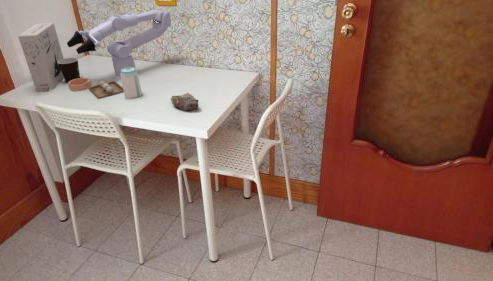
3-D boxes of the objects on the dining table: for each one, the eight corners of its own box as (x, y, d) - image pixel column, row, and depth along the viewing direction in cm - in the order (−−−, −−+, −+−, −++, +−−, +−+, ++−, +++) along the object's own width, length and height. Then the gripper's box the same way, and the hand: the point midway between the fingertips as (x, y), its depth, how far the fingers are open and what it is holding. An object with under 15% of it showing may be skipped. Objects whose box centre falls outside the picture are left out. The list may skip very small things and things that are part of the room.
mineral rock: (168, 102, 156) (166, 92, 154) (186, 97, 159) (185, 88, 157) (182, 116, 145) (181, 105, 143) (201, 110, 149) (200, 100, 146)
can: (121, 97, 162) (115, 70, 156) (134, 91, 167) (129, 65, 160) (132, 100, 158) (127, 73, 152) (145, 95, 163) (140, 68, 157)
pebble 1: (105, 85, 172) (104, 78, 171) (108, 87, 170) (106, 80, 168) (98, 87, 171) (97, 80, 169) (101, 89, 168) (99, 82, 167)
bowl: (87, 82, 177) (86, 76, 176) (93, 88, 171) (92, 81, 169) (67, 87, 173) (65, 81, 171) (73, 93, 167) (71, 87, 165)
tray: (114, 83, 175) (114, 80, 175) (126, 92, 166) (125, 89, 165) (88, 90, 169) (87, 87, 169) (98, 100, 160) (98, 97, 159)
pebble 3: (112, 91, 166) (111, 84, 164) (115, 93, 164) (113, 86, 162) (105, 93, 164) (104, 86, 163) (108, 95, 162) (106, 88, 161)
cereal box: (53, 90, 170) (36, 34, 158) (36, 91, 170) (17, 35, 157) (68, 73, 189) (53, 22, 176) (52, 74, 189) (36, 23, 176)
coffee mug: (76, 85, 176) (70, 64, 170) (59, 84, 177) (53, 63, 172) (90, 75, 185) (84, 55, 180) (74, 75, 187) (68, 55, 182)
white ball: (109, 88, 169) (107, 81, 168) (111, 90, 167) (110, 83, 165) (102, 90, 168) (100, 83, 166) (104, 92, 165) (102, 85, 164)
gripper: (86, 19, 169) (59, 34, 163) (105, 31, 162) (77, 47, 156) (92, 33, 175) (66, 48, 169) (110, 44, 168) (84, 60, 162)
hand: (72, 48), depth 163 cm, fingers open, 7 cm apart
